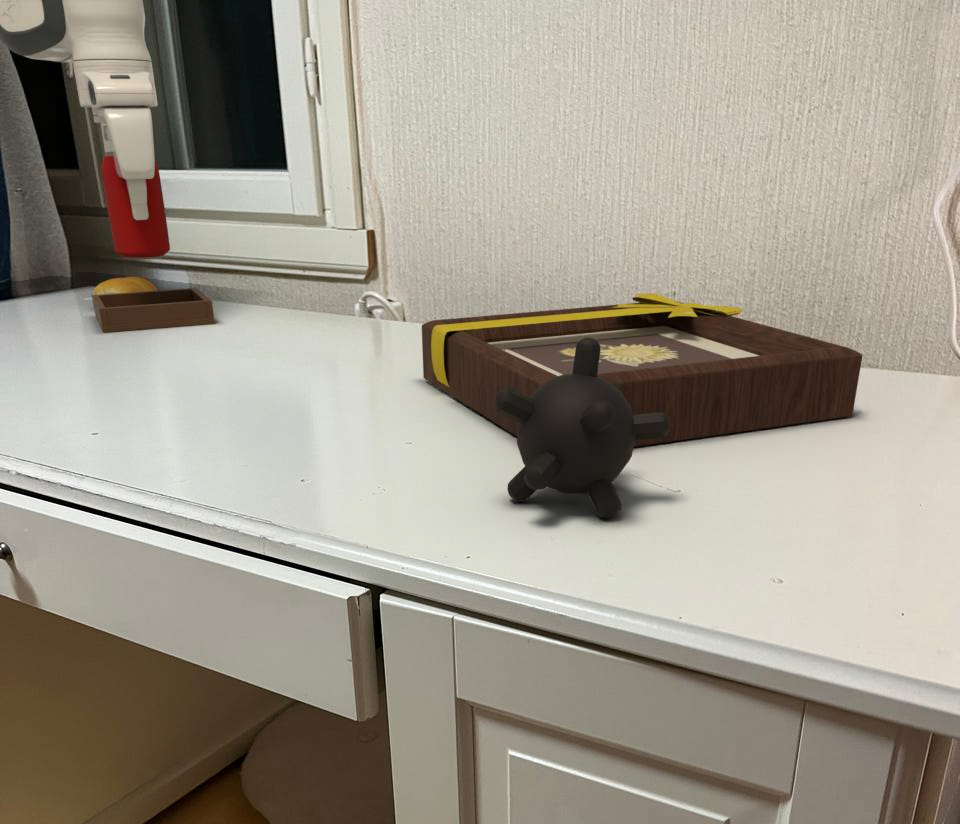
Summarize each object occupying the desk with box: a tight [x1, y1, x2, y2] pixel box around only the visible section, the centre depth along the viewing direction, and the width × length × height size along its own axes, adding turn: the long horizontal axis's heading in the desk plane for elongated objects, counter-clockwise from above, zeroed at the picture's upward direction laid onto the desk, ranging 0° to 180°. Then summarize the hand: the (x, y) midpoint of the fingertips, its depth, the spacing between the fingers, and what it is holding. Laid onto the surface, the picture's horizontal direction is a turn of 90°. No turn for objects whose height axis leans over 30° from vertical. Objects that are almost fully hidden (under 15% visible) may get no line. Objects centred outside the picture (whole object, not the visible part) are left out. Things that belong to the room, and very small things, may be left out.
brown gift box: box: [421, 293, 863, 448], centre depth 88 cm, size 28×7×30 cm
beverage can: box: [100, 151, 171, 260], centre depth 122 cm, size 7×7×12 cm
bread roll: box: [92, 276, 158, 303], centre depth 138 cm, size 8×9×4 cm
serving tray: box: [91, 287, 216, 333], centre depth 128 cm, size 14×13×3 cm
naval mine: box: [494, 338, 670, 519], centre depth 63 cm, size 11×11×12 cm
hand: (137, 217), depth 123 cm, fingers closed on beverage can, 7 cm apart
